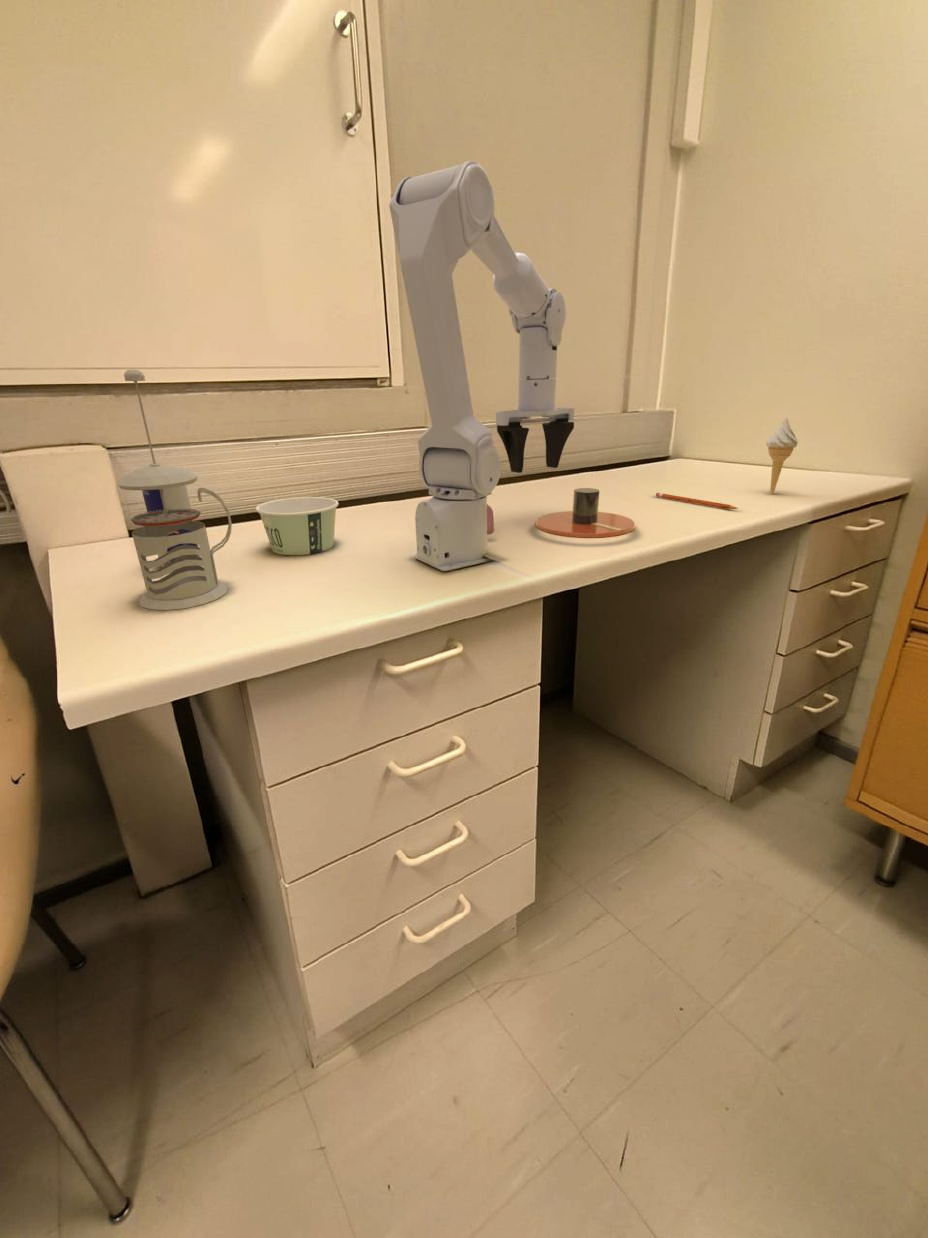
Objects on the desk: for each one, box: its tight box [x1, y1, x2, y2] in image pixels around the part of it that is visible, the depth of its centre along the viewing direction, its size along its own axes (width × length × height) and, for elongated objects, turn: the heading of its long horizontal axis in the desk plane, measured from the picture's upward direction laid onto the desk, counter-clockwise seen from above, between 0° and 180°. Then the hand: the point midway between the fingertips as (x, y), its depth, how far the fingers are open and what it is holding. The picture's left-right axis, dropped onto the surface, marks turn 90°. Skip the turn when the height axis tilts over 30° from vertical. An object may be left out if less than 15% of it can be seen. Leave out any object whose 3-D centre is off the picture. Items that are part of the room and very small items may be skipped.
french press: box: [116, 368, 233, 611], centre depth 64 cm, size 10×12×25 cm
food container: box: [255, 496, 339, 556], centre depth 85 cm, size 12×12×6 cm
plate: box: [535, 487, 636, 539], centre depth 90 cm, size 16×16×6 cm
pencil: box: [655, 492, 740, 510], centre depth 109 cm, size 1×18×1 cm, turn 36°
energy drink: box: [141, 485, 202, 567], centre depth 77 cm, size 5×5×12 cm
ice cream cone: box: [766, 417, 799, 495], centre depth 114 cm, size 6×6×15 cm
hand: (534, 469), depth 92 cm, fingers open, 7 cm apart
